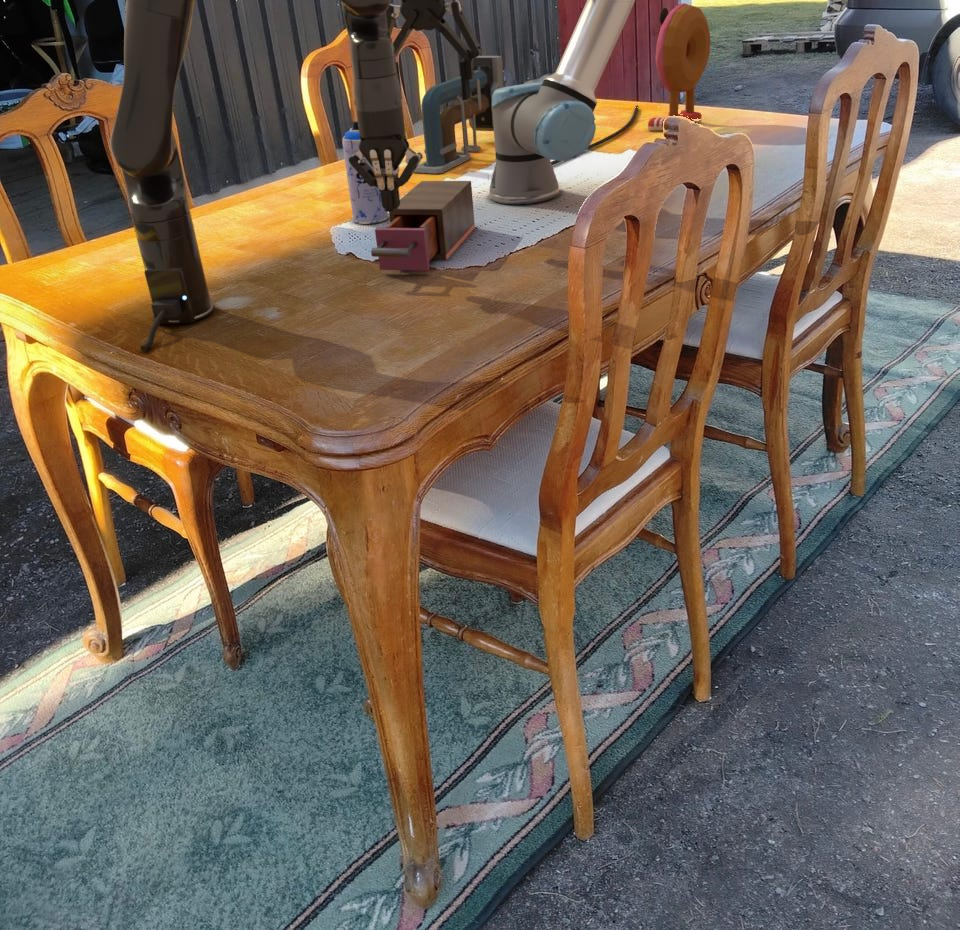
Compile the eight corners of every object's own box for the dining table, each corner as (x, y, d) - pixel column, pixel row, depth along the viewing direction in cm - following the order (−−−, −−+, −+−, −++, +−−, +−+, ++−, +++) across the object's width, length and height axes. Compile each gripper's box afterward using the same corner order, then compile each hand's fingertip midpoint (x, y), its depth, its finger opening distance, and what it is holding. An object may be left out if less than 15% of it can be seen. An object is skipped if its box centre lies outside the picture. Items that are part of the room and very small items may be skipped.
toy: (679, 116, 271) (683, -2, 256) (712, 118, 265) (718, -3, 250) (639, 132, 257) (640, 8, 242) (673, 135, 251) (676, 8, 236)
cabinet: (446, 259, 180) (441, 209, 175) (394, 258, 183) (388, 208, 178) (474, 227, 196) (471, 180, 191) (426, 227, 198) (421, 180, 194)
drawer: (417, 282, 168) (412, 240, 164) (368, 281, 170) (362, 240, 166) (456, 239, 187) (453, 201, 183) (412, 238, 189) (407, 200, 185)
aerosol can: (355, 226, 202) (341, 127, 192) (349, 216, 209) (336, 120, 199) (392, 220, 204) (380, 122, 194) (385, 211, 210) (373, 115, 200)
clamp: (440, 173, 235) (432, 80, 224) (410, 172, 239) (400, 80, 228) (506, 140, 261) (501, 55, 250) (478, 139, 264) (472, 55, 254)
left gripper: (424, 99, 158) (435, 204, 167) (350, 101, 162) (364, 204, 170) (409, 108, 152) (421, 217, 161) (332, 110, 155) (347, 216, 164)
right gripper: (493, -34, 169) (501, 93, 180) (361, -26, 176) (376, 97, 187) (482, -31, 163) (491, 101, 174) (346, -22, 170) (362, 104, 181)
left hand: (391, 210), depth 166 cm, fingers closed
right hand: (431, 99), depth 180 cm, fingers open, 13 cm apart
